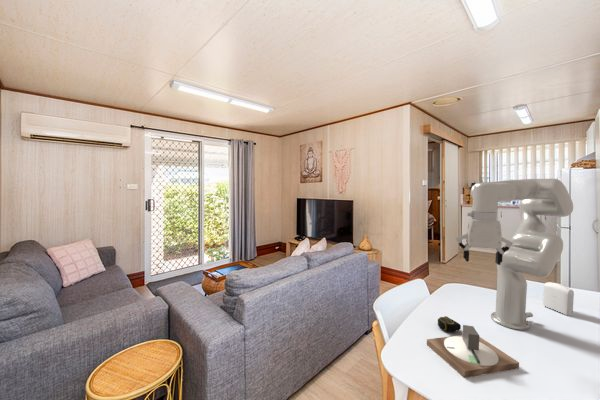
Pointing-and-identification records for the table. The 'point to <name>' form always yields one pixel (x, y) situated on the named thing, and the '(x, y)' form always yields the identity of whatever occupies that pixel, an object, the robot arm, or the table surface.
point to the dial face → (460, 351)
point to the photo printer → (558, 298)
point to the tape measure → (448, 324)
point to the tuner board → (469, 368)
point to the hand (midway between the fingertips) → (481, 262)
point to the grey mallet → (471, 340)
